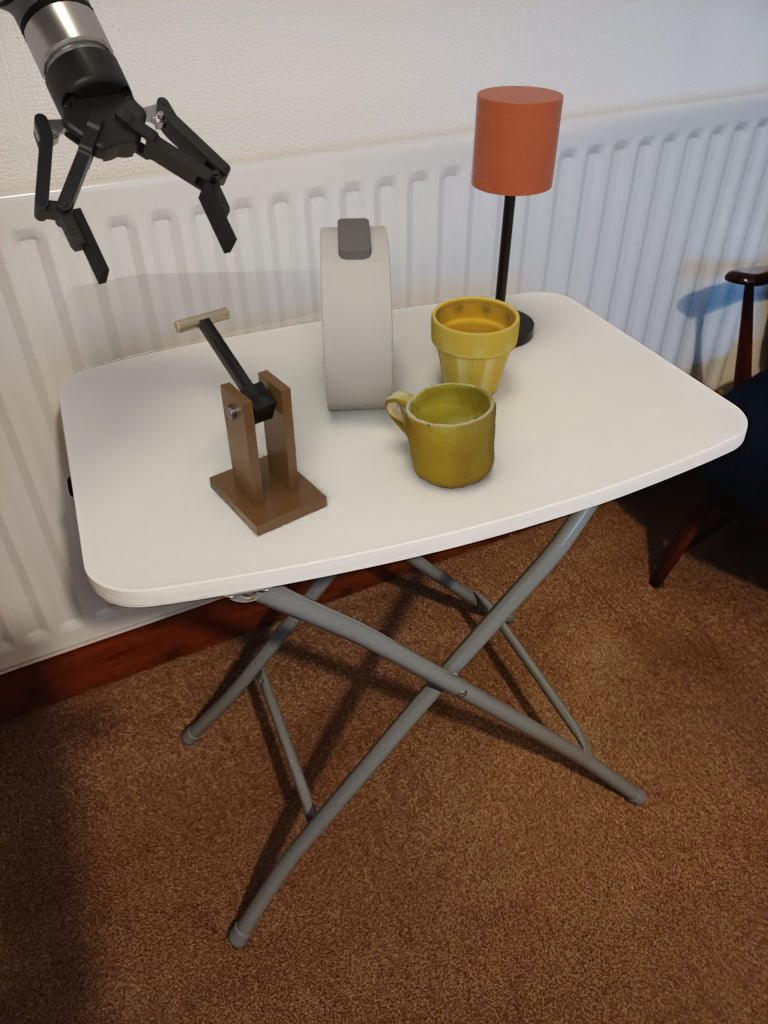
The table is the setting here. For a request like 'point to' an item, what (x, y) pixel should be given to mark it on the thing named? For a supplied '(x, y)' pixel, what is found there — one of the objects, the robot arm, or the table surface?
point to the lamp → (515, 159)
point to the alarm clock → (356, 314)
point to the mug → (447, 431)
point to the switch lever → (230, 361)
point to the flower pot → (474, 339)
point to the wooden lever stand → (264, 462)
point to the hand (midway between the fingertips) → (170, 261)
